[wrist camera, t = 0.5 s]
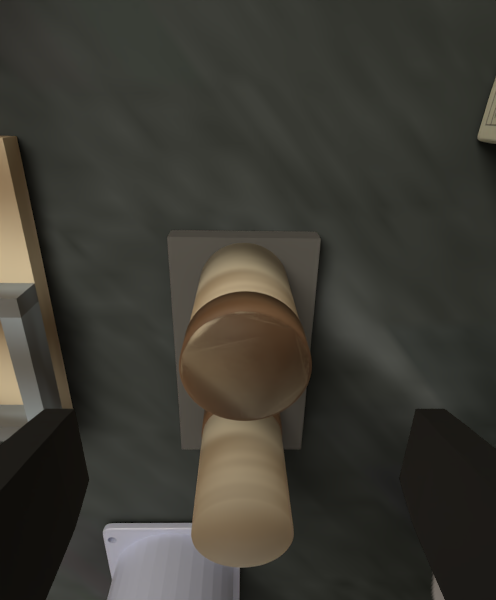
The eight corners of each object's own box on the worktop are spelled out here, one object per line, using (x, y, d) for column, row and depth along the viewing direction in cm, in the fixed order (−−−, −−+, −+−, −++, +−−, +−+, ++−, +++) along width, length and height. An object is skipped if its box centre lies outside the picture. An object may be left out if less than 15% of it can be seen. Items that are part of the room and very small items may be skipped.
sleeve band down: (278, 447, 21) (291, 568, 15) (204, 447, 21) (191, 568, 15) (282, 387, 19) (298, 498, 14) (202, 386, 19) (187, 498, 14)
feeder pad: (298, 435, 22) (300, 449, 21) (184, 434, 22) (181, 449, 21) (316, 231, 17) (320, 238, 16) (171, 229, 17) (167, 236, 16)
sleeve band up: (286, 324, 18) (306, 421, 12) (200, 324, 18) (182, 420, 12) (291, 242, 16) (317, 310, 11) (197, 240, 16) (174, 309, 11)
